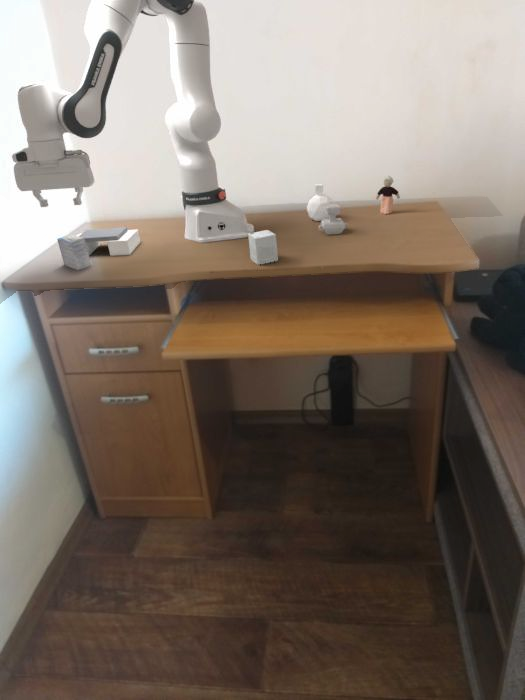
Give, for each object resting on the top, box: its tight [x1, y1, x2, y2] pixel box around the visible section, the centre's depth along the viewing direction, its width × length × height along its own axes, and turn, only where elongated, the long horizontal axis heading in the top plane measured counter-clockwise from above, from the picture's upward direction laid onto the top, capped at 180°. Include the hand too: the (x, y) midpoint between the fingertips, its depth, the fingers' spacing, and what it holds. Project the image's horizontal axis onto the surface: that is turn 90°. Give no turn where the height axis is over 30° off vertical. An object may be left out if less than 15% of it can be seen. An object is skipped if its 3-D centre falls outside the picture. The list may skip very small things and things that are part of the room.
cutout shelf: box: [76, 226, 141, 257], centre depth 161 cm, size 19×12×6 cm, turn 87°
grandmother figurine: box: [375, 175, 401, 215], centre depth 172 cm, size 8×4×13 cm, turn 81°
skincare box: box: [247, 229, 279, 266], centre depth 141 cm, size 6×6×7 cm
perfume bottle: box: [306, 183, 334, 222], centre depth 171 cm, size 9×9×12 cm
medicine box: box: [57, 234, 92, 271], centre depth 149 cm, size 8×4×9 cm, turn 47°
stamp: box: [317, 203, 348, 236], centre depth 159 cm, size 9×7×8 cm
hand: (61, 205), depth 143 cm, fingers open, 8 cm apart
